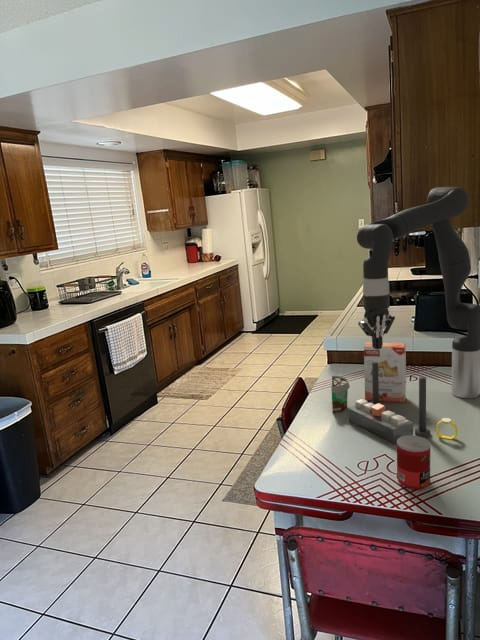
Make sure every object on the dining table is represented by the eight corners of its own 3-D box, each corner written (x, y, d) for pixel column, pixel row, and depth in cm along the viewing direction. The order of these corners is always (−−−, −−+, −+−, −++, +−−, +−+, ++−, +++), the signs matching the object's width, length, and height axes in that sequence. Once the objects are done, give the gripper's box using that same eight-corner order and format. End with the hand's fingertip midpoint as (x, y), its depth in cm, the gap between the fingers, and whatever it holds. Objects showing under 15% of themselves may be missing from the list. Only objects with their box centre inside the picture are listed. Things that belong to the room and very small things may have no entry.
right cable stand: (422, 429, 149) (421, 374, 146) (433, 434, 146) (433, 378, 142) (411, 433, 147) (411, 377, 144) (423, 438, 144) (423, 381, 140)
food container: (350, 414, 164) (349, 387, 162) (332, 414, 166) (331, 387, 164) (350, 400, 176) (349, 375, 174) (333, 400, 178) (331, 375, 175)
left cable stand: (376, 409, 167) (375, 360, 163) (385, 413, 163) (384, 362, 159) (366, 412, 165) (365, 362, 161) (375, 416, 161) (374, 365, 157)
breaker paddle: (379, 409, 152) (378, 403, 152) (385, 412, 150) (384, 405, 149) (372, 413, 151) (371, 407, 151) (378, 416, 149) (377, 409, 148)
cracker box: (364, 401, 175) (363, 345, 170) (366, 395, 180) (365, 341, 176) (405, 403, 170) (404, 346, 165) (406, 397, 175) (405, 342, 171)
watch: (435, 439, 143) (434, 420, 142) (437, 435, 146) (435, 417, 145) (457, 441, 140) (456, 422, 139) (458, 437, 142) (457, 418, 141)
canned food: (426, 493, 117) (426, 451, 114) (393, 485, 121) (392, 445, 119) (433, 477, 123) (433, 438, 121) (401, 471, 127) (400, 432, 125)
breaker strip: (367, 416, 162) (366, 396, 161) (413, 437, 145) (412, 416, 143) (348, 422, 159) (347, 402, 157) (393, 445, 141) (393, 423, 140)
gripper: (383, 288, 149) (384, 342, 152) (350, 294, 143) (352, 350, 147) (402, 290, 142) (402, 346, 146) (367, 297, 136) (369, 355, 140)
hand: (377, 348), depth 146 cm, fingers closed
